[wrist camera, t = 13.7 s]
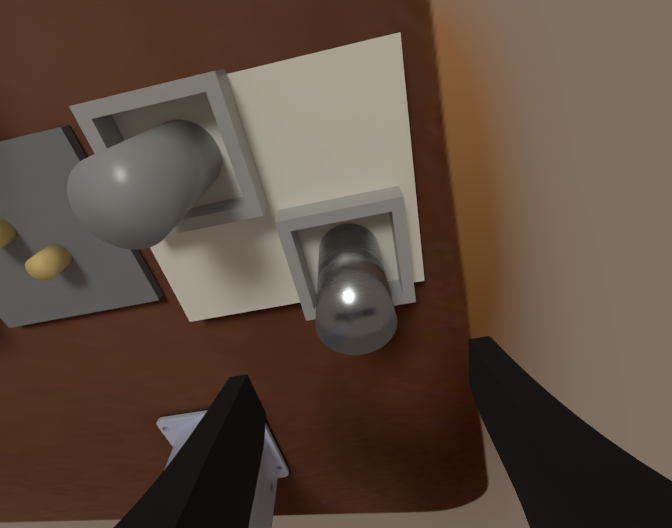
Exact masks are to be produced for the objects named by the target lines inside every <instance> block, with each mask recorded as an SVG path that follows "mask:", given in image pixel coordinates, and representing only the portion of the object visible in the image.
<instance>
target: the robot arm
mask: <svg viewBox="0 0 672 528" xmlns="http://www.w3.org/2000/svg"><path fill="white" fill-rule="evenodd" d="M469 376H470V386H471V389H472V392H473V395H474V398H475V401H476V404H477V407H478V410H479V413H480V415H481V418H482V420H483V422H484V424H485V426H486V428H487V431H488V433H489V435H490V437H491V439H492V441H493V443H494V446H495V448H496V450H497V452H498V454H499V456H500V459H501V461H502V463H503V465H504V467H505V469H506V471H507V473H508V476H509V478H510V480H511V482H512V484H513V486H514V488H515V491H516V493H517V495H518V498H519V500H520V502H521V505H522V507H523V510H524V513H525V515H526V518H527V521H528V523H529V526H530V528H672V481H670V480H669V479H667V478H666V477H664V476H662V475H661V474H659V473H658V472H656V471H655V470H653V469H651V468H650V467H648V466H647V465H645V464H643V463H642V462H640V461H639V460H637V459H636V458H635V457H633V456H632V455H630V454H629V453H627V452H626V451H624V450H623V449H621V448H620V447H618V446H617V445H616V444H614V443H613V442H611V441H610V440H609V439H607V438H606V437H604V436H603V435H602V434H600V433H599V432H597V431H596V430H595V429H594V428H592V427H591V426H590V425H588V424H587V423H585V422H584V421H583V420H582V419H580V418H579V417H578V416H577V415H575V414H574V413H573V412H572V411H570V410H569V409H568V408H567V407H565V406H564V405H563V404H562V403H561V402H559V401H558V400H557V399H556V398H555V397H553V396H552V395H551V394H550V393H549V392H548V391H547V390H545V389H544V388H543V387H542V386H541V385H540V384H539V383H538V382H536V381H535V380H534V379H533V378H532V377H531V376H530V375H529V374H528V373H526V372H525V371H524V370H523V369H522V368H521V367H520V366H519V365H518V364H517V363H516V362H515V361H514V360H513V359H512V358H511V357H510V356H509V355H508V354H507V353H505V351H504V350H503V349H502V348H501V347H500V346H499V345H498V344H497V343H496V342H495V341H494V340H493V339H492V338H491V337H489V336H487V337H481V338H475V339H469ZM157 426H158V427H159V429H160V430H161V431H162V433H163V434H164V435H165V437H166V438H167V439H168V441H169V442H170V444H171V445H172V446H173V449H172V452H171V454H170V457H169V459H168V462H167V464H166V467H165V469H164V471H163V472H162V474H161V475H160V476H159V477H158V479H157V480H156V481H155V482H154V483H153V485H152V486H151V487H150V488H149V489H148V491H147V492H146V493H145V494H144V495H143V496H142V498H141V499H140V500H139V501H138V502H137V503H136V504H135V506H134V507H133V508H132V509H131V510H130V511H129V512H128V513H127V514H126V515H125V516H124V517H123V518H122V519H121V521H120V522H119V523H118V524H117V525H116V526H115V527H114V528H271V527H272V519H273V512H274V504H275V495H276V487H277V479H278V478H282V477H286V476H288V474H289V469H288V467H287V465H286V463H285V461H284V459H283V457H282V455H281V453H280V451H279V449H278V447H277V445H276V443H275V441H274V439H273V437H272V434H271V432H270V430H269V428H268V426H267V424H266V412H265V410H264V408H263V406H262V404H261V402H260V400H259V398H258V396H257V394H256V392H255V389H254V387H253V385H252V383H251V381H250V379H249V377H248V375H241V376H234V377H230V378H229V379H228V381H227V382H226V383H225V385H224V386H223V388H222V389H221V391H220V392H219V394H218V395H217V397H216V398H215V400H214V401H213V403H212V404H211V406H210V407H209V409H208V410H206V411H199V412H192V413H186V414H179V415H172V416H166V417H161V418H159V419H158V421H157Z"/></svg>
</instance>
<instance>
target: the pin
mask: <svg viewBox="0 0 672 528" xmlns="http://www.w3.org/2000/svg"><path fill="white" fill-rule="evenodd" d="M315 328H316V333H317V335H318V337H319V339H320V340H321V341H322V342H323V343H324V344H325V345H326V346H327V347H328V348H330V349H332V350H334V351H336V352H339V353H342V354H347V355H362V354H367V353H370V352H373V351H376V350H378V349H380V348H381V347H383V346H384V345H386V344H387V343H388V342H389V341H390V339H391V338H392V337H393V335H394V333H395V331H396V328H397V317H396V313H395V309H394V305H393V301H392V297H391V293H390V289H389V285H388V281H387V277H386V273H385V269H384V265H383V261H382V257H381V253H380V249H379V245H378V241H377V239H376V237H375V235H374V234H373V233H372V232H371V231H370V230H368V229H367V228H365V227H363V226H361V225H357V224H342V225H339V226H336V227H334V228H332V229H331V230H329V231H328V232H327V233H326V234H325V235H324V237H323V238H322V240H321V242H320V246H319V259H318V279H317V298H316V318H315Z"/></svg>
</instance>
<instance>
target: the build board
mask: <svg viewBox="0 0 672 528" xmlns="http://www.w3.org/2000/svg"><path fill="white" fill-rule="evenodd" d="M69 107H70V109H71V111H72V113H73V115H74V116H75V118H76V120H77V122H78V124H79V126H80V127H81V129H82V131H83V133H84V135H85V137H86V138H87V140H88V142H89V144H90V146H91V148H92V150H93V151H94V153H95V154H94V155H92V156H89V157H87V158H85V159H83V160H82V161H80V162H79V163H78V164H77V165H76V166H75V167H74V168H73V169H72V171H71V173H70V175H69V178H68V182H67V194H68V199H69V203H70V205H71V208H72V210H73V212H74V214H75V215H76V217H77V218H78V220H79V221H80V222H81V223H82V224H83V226H84V227H85V228H86V229H87V230H89V231H90V232H91V233H92V234H93V235H95V236H96V237H98V238H99V239H101V240H103V241H104V242H106V243H109V244H111V245H113V246H116V247H120V248H124V249H132V250H139V249H146V248H151V250H152V252H153V254H154V256H155V258H156V260H157V261H158V263H159V265H160V267H161V269H162V271H163V273H164V274H165V276H166V278H167V280H168V282H169V284H170V286H171V287H172V289H173V291H174V293H175V295H176V297H177V299H178V300H179V302H180V304H181V306H182V308H183V310H184V312H185V314H186V315H187V317H188V319H189V321H190V322H192V321H198V320H203V319H209V318H215V317H220V316H226V315H232V314H237V313H243V312H249V311H255V310H260V309H266V308H272V307H277V306H283V305H289V304H294V303H301V306H302V309H303V312H304V315H305V319H306V321H307V320H313V319H315V318H316V298H317V279H318V259H319V246H320V242H321V240H322V238H323V237H324V235H325V234H326V233H327V232H328V231H329V230H331V229H332V228H334V227H336V226H339V225H342V224H357V225H361V226H363V227H365V228H367V229H368V230H370V231H371V232H372V233H373V234H374V235H375V237H376V239H377V241H378V245H379V249H380V253H381V257H382V261H383V265H384V269H385V273H386V277H387V281H388V285H389V289H390V293H391V297H392V301H393V305H394V306H395V305H401V304H407V303H413V302H416V298H415V290H414V282H420V281H424V271H423V261H422V250H421V240H420V230H419V219H418V209H417V199H416V189H415V178H414V168H413V158H412V147H411V137H410V127H409V117H408V106H407V96H406V86H405V75H404V65H403V55H402V45H401V34H400V32H399V33H395V34H391V35H387V36H383V37H379V38H374V39H370V40H366V41H362V42H358V43H354V44H350V45H345V46H341V47H337V48H333V49H329V50H325V51H321V52H316V53H312V54H308V55H304V56H300V57H296V58H292V59H287V60H283V61H279V62H275V63H271V64H267V65H263V66H258V67H254V68H250V69H246V70H242V71H238V72H234V73H230V74H226V71H225V69H222V70H217V71H212V72H208V73H204V74H200V75H196V76H192V77H188V78H184V79H179V80H175V81H171V82H167V83H163V84H159V85H155V86H151V87H147V88H142V89H138V90H134V91H130V92H126V93H122V94H118V95H114V96H110V97H105V98H101V99H97V100H93V101H89V102H85V103H81V104H77V105H73V106H69Z"/></svg>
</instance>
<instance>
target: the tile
mask: <svg viewBox="0 0 672 528" xmlns="http://www.w3.org/2000/svg"><path fill="white" fill-rule="evenodd" d="M85 158H87V157H86V155H85V153H84V151H83V149H82V148H81V146H80V144H79V142H78V141H77V139H76V137H75V135H74V133H73V132H72V130H71V128H70V126H69V125H67V126H62V127H58V128H54V129H50V130H46V131H41V132H37V133H33V134H29V135H25V136H20V137H16V138H12V139H8V140H4V141H0V318H1V319H2V320H3V321H4V322H5V324H6V325H7V326H8V327H9V328H11V327H17V326H22V325H27V324H33V323H38V322H44V321H49V320H55V319H60V318H66V317H71V316H77V315H82V314H88V313H93V312H98V311H104V310H109V309H115V308H120V307H126V306H131V305H137V304H142V303H148V302H153V301H159V300H160V299H161V297H162V296H163V293H162V291H161V289H160V287H159V286H158V284H157V282H156V280H155V279H154V277H153V275H152V273H151V271H150V270H149V268H148V266H147V264H146V262H145V261H144V259H143V257H142V255H141V253H140V252H139V250H132V249H124V248H120V247H116V246H113V245H111V244H109V243H106V242H104V241H103V240H101V239H99V238H98V237H96V236H95V235H93V234H92V233H91V232H90V231H89V230H87V229H86V228H85V227H84V226H83V224H82V223H81V222H80V221H79V220H78V218H77V217H76V215H75V214H74V212H73V210H72V208H71V205H70V203H69V199H68V194H67V182H68V178H69V175H70V173H71V171H72V169H73V168H74V167H75V166H76V165H77V164H78V163H79V162H80V161H82V160H83V159H85Z"/></svg>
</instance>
